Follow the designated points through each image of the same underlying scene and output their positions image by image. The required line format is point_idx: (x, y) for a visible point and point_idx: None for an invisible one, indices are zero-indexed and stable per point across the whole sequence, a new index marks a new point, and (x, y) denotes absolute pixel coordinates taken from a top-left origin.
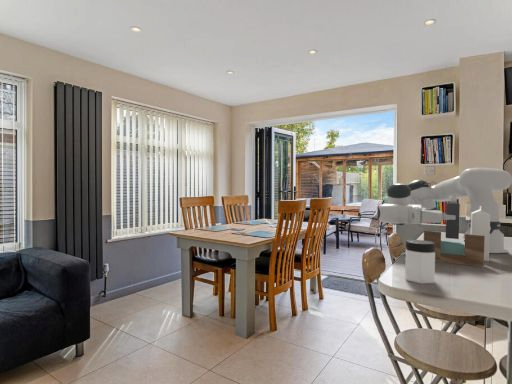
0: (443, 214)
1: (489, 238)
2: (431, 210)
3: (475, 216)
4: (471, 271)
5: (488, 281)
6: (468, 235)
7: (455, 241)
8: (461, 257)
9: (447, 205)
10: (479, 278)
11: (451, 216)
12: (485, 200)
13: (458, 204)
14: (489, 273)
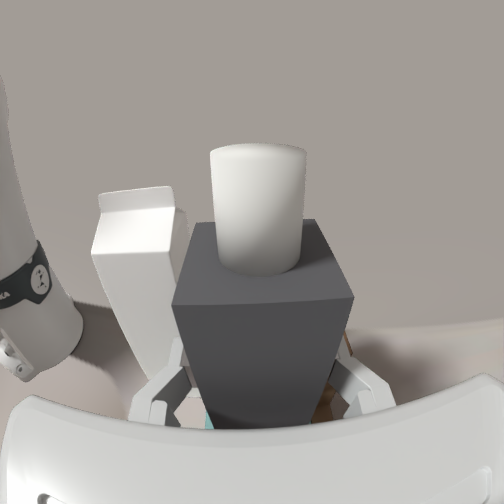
0: (382, 401)
1: (57, 299)
2: (43, 492)
3: (175, 256)
4: (406, 386)
5: (458, 346)
6: (348, 345)
7: (206, 420)
8: (330, 414)
9: (343, 314)
10: (453, 361)
11: (344, 357)
12: (5, 185)
13: (316, 230)
14: (390, 355)
